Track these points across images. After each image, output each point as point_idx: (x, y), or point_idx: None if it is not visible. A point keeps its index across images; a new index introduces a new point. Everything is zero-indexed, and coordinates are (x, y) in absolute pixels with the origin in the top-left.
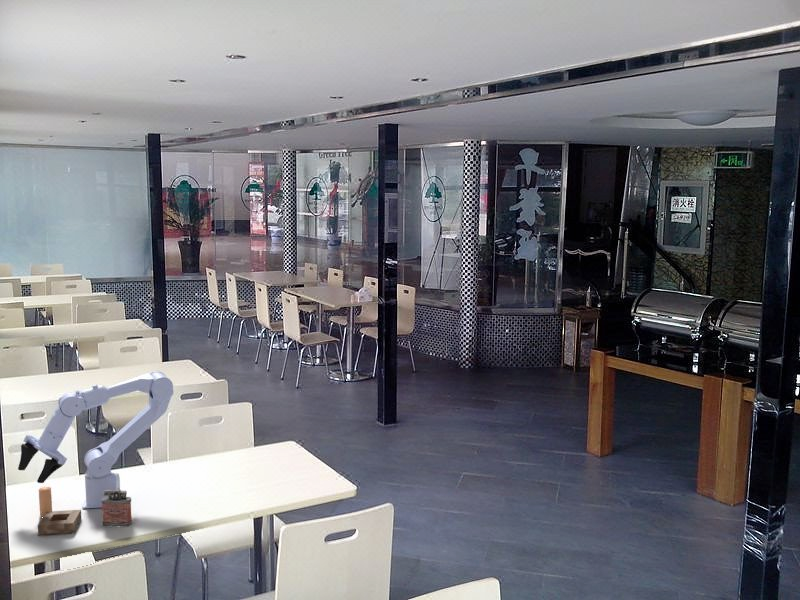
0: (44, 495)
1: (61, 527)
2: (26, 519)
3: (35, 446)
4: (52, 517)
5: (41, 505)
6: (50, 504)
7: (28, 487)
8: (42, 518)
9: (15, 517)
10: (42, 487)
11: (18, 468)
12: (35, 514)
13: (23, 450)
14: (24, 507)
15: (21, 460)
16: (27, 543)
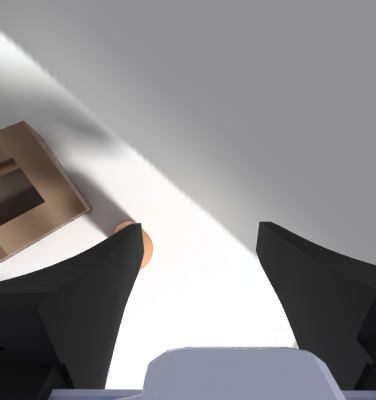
0: (115, 232)
1: None
2: (154, 198)
3: (291, 367)
4: (39, 191)
5: (127, 223)
6: None
7: (284, 317)
8: (54, 165)
9: (185, 196)
10: (149, 254)
11: (269, 222)
12: (158, 227)
13: (369, 272)
14: (211, 243)
15: (294, 239)
16: (27, 90)
